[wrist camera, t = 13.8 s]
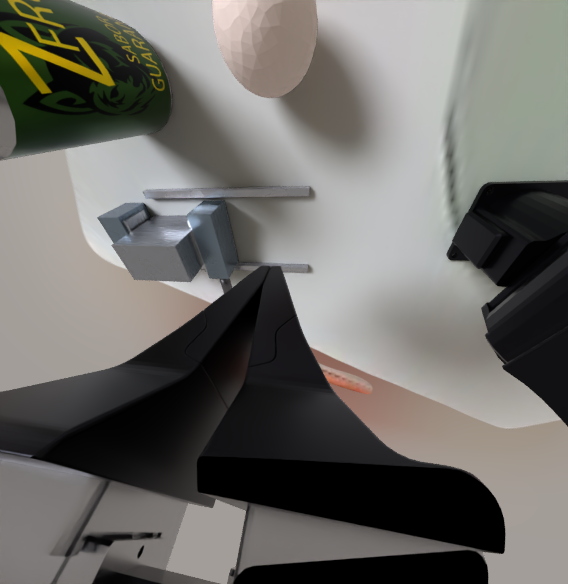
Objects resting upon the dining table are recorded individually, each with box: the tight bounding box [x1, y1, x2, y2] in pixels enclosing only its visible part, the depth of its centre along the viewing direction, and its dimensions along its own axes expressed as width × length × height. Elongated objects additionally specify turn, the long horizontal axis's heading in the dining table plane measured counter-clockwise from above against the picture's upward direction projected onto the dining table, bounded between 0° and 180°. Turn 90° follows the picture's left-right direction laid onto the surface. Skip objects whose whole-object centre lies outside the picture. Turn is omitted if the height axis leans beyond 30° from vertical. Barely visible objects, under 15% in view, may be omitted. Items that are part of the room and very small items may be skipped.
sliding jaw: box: [187, 201, 239, 294], centre depth 21 cm, size 2×10×3 cm, turn 2°
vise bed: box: [97, 186, 310, 272], centre depth 20 cm, size 18×8×4 cm, turn 92°
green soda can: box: [0, 0, 172, 161], centre depth 10 cm, size 5×5×12 cm
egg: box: [212, 0, 318, 98], centre depth 10 cm, size 5×5×7 cm
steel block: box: [112, 216, 203, 282], centre depth 20 cm, size 4×6×6 cm, turn 92°
